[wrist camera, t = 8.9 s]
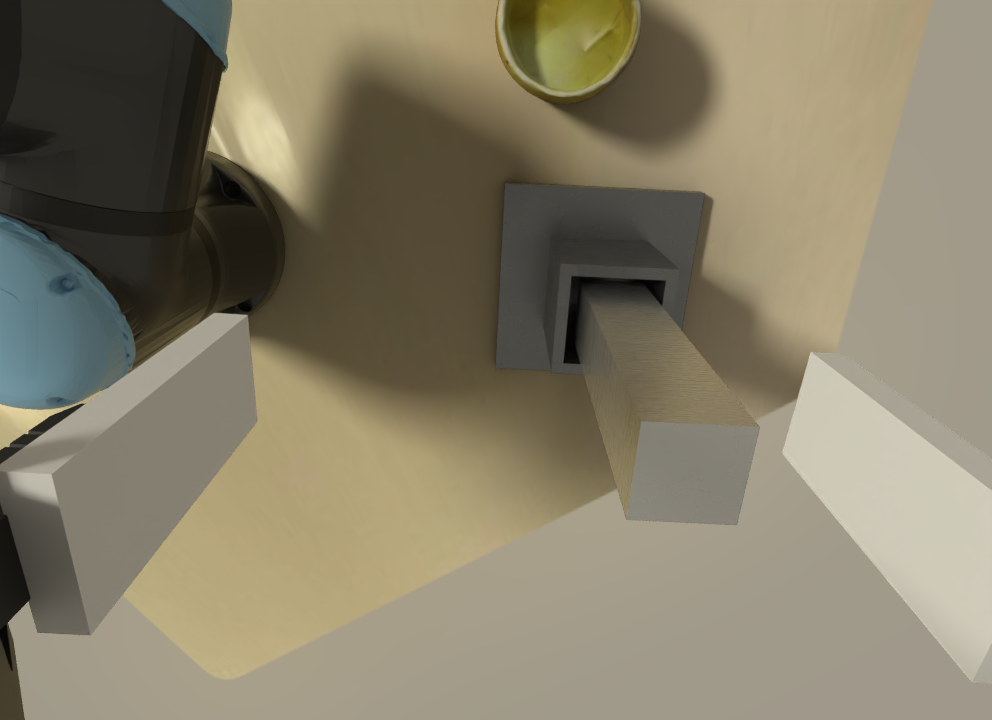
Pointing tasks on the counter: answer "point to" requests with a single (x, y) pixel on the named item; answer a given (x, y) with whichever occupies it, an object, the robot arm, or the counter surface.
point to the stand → (585, 261)
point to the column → (661, 409)
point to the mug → (566, 44)
